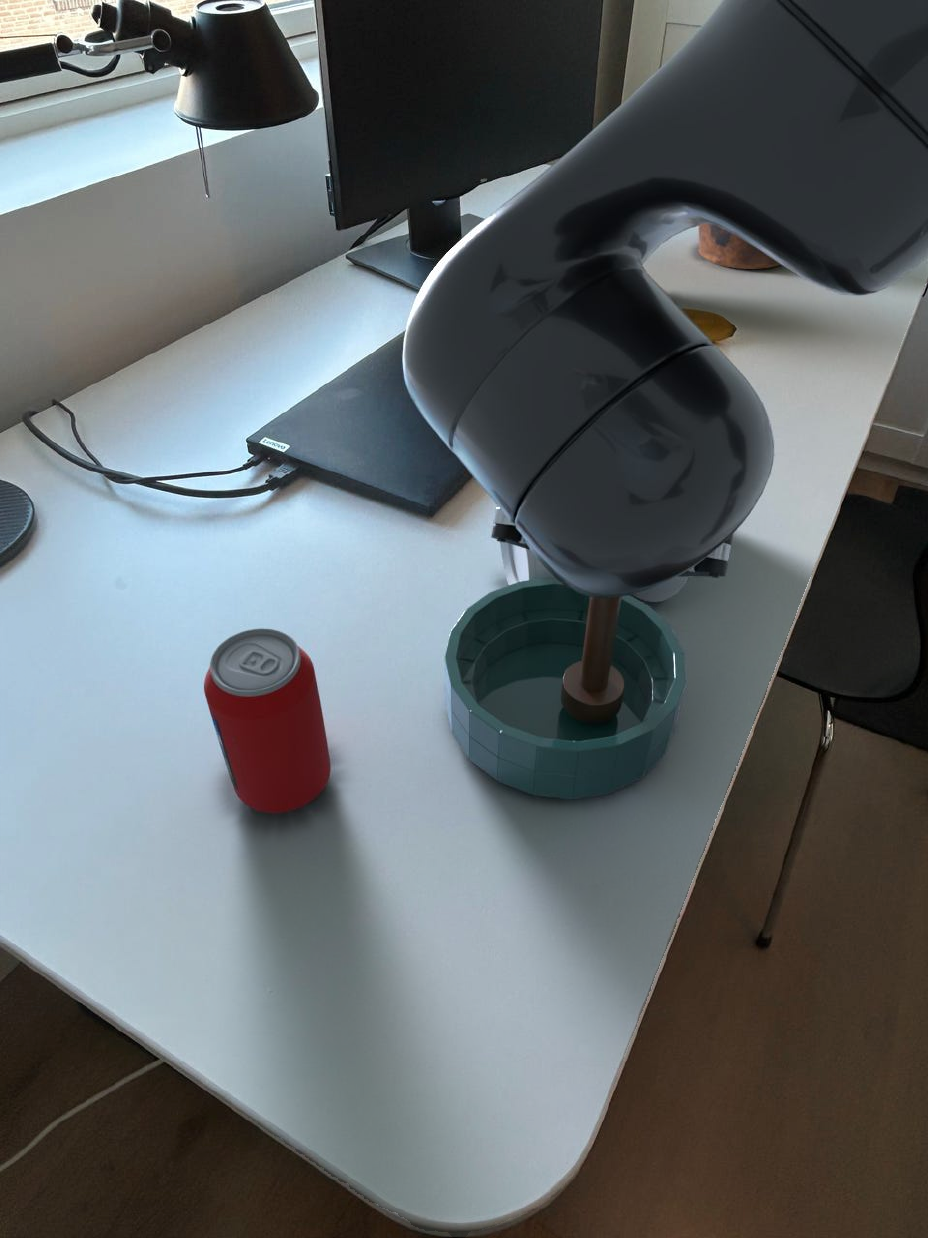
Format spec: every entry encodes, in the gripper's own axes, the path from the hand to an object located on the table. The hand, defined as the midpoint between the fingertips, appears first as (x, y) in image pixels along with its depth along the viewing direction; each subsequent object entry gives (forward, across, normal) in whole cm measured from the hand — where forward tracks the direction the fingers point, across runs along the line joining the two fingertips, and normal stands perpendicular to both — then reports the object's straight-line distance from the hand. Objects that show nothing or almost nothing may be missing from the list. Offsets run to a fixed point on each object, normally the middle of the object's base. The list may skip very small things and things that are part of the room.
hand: (613, 554), depth 57 cm
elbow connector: (+21, +2, -2) cm, 21 cm away
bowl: (+8, +2, +11) cm, 14 cm away
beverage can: (+1, +19, +19) cm, 27 cm away
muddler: (+7, 0, +10) cm, 12 cm away
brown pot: (+75, -7, -55) cm, 93 cm away
